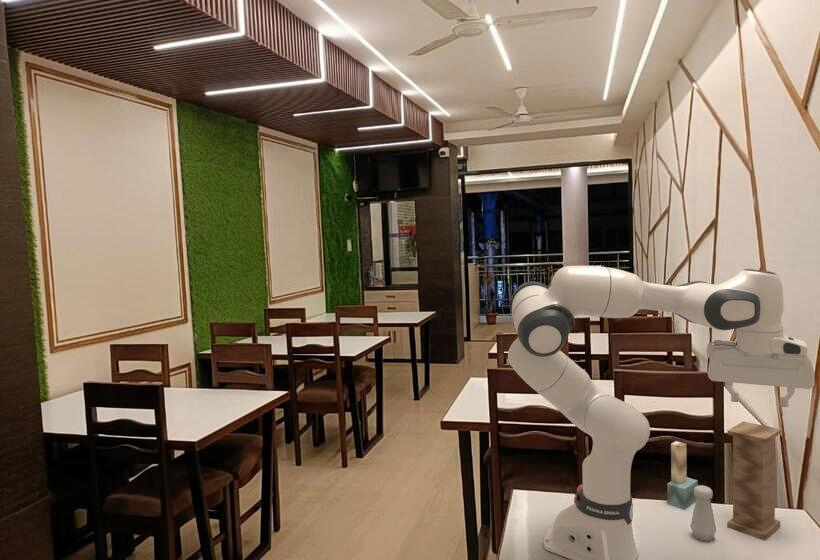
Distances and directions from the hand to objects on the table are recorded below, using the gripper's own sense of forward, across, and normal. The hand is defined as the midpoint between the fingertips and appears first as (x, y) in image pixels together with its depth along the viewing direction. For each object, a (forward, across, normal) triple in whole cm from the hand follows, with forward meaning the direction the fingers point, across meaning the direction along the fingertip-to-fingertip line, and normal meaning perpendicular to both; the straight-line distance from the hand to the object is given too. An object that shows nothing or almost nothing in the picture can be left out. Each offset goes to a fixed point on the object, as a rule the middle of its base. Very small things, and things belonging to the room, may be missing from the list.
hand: (759, 403), depth 129 cm
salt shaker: (+39, -12, +11) cm, 43 cm away
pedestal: (+39, -1, +22) cm, 45 cm away
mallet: (+31, -21, +30) cm, 48 cm away
